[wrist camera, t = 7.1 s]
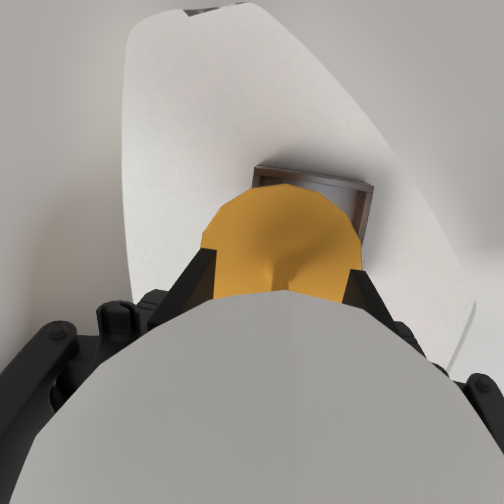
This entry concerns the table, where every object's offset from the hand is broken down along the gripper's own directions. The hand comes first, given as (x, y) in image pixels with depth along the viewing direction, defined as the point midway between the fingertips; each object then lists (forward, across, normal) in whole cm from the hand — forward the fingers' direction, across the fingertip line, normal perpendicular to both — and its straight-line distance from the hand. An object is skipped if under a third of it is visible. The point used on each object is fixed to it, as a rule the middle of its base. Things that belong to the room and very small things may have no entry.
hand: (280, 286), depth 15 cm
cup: (+3, 0, 0) cm, 3 cm away
